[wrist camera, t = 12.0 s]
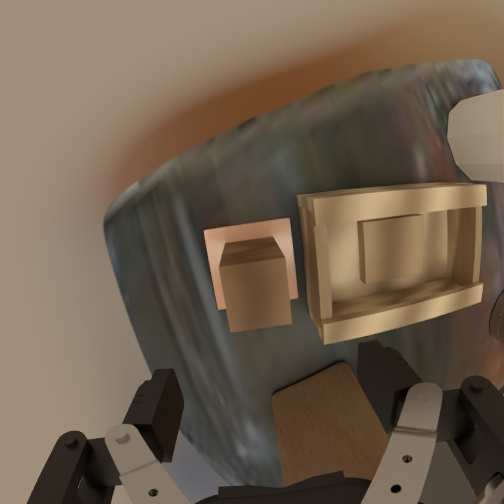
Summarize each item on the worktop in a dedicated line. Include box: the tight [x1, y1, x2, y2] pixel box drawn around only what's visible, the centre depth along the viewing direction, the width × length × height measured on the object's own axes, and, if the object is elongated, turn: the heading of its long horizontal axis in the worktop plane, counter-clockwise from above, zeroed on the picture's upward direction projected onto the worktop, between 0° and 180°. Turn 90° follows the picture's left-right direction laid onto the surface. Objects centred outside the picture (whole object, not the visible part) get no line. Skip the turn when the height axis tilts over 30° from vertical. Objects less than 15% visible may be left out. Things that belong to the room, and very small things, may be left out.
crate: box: [296, 182, 487, 345], centre depth 26 cm, size 18×12×7 cm, turn 98°
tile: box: [204, 217, 298, 310], centre depth 29 cm, size 8×8×1 cm
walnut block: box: [219, 236, 292, 332], centre depth 24 cm, size 4×5×8 cm
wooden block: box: [272, 362, 390, 487], centre depth 24 cm, size 10×10×20 cm
